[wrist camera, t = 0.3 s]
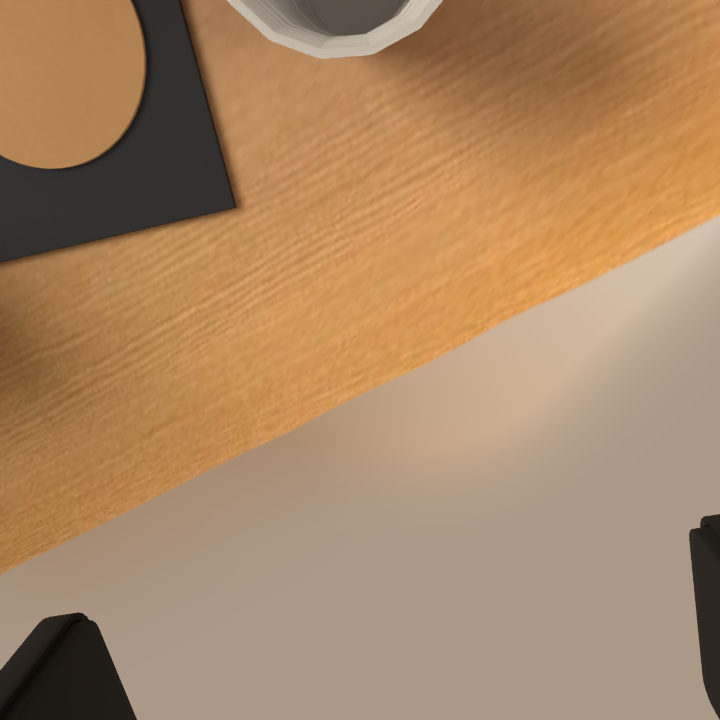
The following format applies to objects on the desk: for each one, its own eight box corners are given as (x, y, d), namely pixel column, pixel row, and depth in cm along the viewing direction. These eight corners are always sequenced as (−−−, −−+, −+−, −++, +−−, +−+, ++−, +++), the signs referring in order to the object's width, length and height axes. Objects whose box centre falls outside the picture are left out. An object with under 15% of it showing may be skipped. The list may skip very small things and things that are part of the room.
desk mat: (-174, -116, 35) (-185, -122, 34) (121, -217, 33) (116, -225, 32) (-23, 267, 41) (-30, 269, 40) (236, 207, 39) (233, 208, 38)
